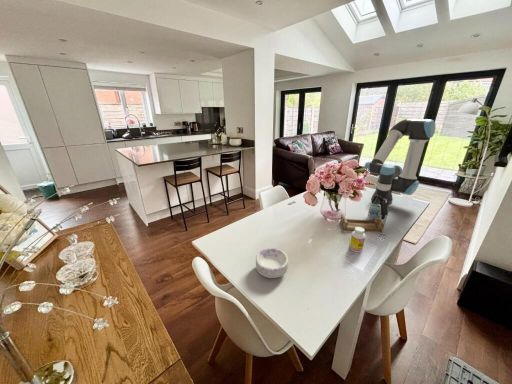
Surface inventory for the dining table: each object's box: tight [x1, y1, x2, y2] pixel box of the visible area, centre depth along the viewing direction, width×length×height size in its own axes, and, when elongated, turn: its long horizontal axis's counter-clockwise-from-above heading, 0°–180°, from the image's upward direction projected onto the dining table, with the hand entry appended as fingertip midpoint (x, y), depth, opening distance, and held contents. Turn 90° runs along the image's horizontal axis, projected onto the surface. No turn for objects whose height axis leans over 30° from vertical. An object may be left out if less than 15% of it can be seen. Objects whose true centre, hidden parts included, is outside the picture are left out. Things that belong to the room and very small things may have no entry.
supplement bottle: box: [349, 227, 366, 253], centre depth 113 cm, size 7×7×13 cm
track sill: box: [339, 213, 385, 234], centre depth 135 cm, size 11×22×6 cm, turn 83°
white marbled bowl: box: [255, 247, 289, 279], centre depth 99 cm, size 15×15×8 cm
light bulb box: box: [367, 202, 390, 225], centre depth 143 cm, size 11×7×11 cm, turn 68°
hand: (376, 217), depth 144 cm, fingers open, 13 cm apart
